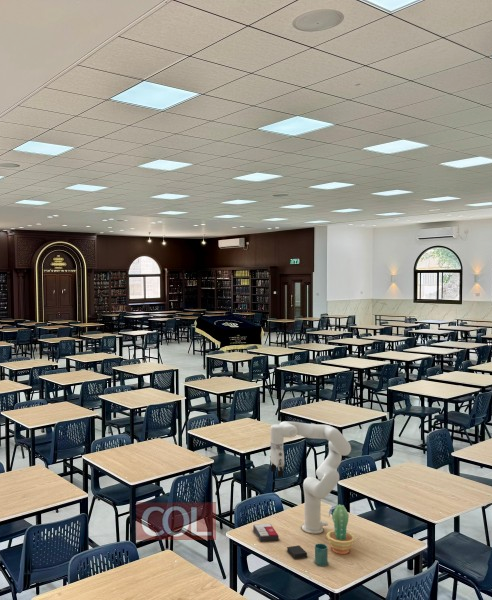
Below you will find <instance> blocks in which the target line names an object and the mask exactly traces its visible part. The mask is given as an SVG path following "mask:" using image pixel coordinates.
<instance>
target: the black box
mask: <svg viewBox="0 0 492 600" xmlns="http://www.w3.org/2000/svg"><path fill="white" fill-rule="evenodd" d="M286 552H287V553H288V554H289V555H290V556H291V557H292V559H294V560H299V559H305V558H308V551H306V550H305V549H304V548H303V547H302V546H301V545H292V546H291V545H290V546H287V548H286Z"/></svg>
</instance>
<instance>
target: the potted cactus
mask: <svg viewBox="0 0 492 600" xmlns="http://www.w3.org/2000/svg"><path fill="white" fill-rule="evenodd" d="M347 510H348V509H346V507H345V505H344V504H340V503H339V504H336V505H332V506H331V507H330V508H329V510H328V516H329V517H331V519H332V522H333V530H330V531H328V532H327V533H326V538H327V540H328V542H329V544H330V546H331V547H332V549H331V550H332V551H333V552H334V553H336V554H341V555H346V554H349V552H350V549H351V547H352V545H353V544H354V542H355V539H356V536H355V535H354V534H352V533H351V532H349V531H347V527H348V523H349V517H350V516H349V513H348V511H347Z"/></svg>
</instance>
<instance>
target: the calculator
mask: <svg viewBox="0 0 492 600" xmlns="http://www.w3.org/2000/svg"><path fill="white" fill-rule="evenodd" d="M252 526H253V529H252V531H253V533H254V534H255V535H256V537H257V538H258V540H259V542H261V543H263V542H264V543H265V542H278V541H279V537H280V535H279V534H278V532H277V531H276V530H275V528H274V526H273V525H272V523H258V524H253V525H252Z"/></svg>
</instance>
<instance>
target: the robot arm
mask: <svg viewBox="0 0 492 600" xmlns="http://www.w3.org/2000/svg"><path fill="white" fill-rule="evenodd" d="M296 436H301V437H304V438H306V439H319V440H327V441H328V444H327V445H328V453H327V456H326V458H325V459H324V460H323V461H322V462H321V463H320V465H319V466H318V467H317V469H316V471H315V475H316V477H317V478H316V477H314V476H307V477H306V478H305V479H303V483H302V487H303V488H302V489H303V495H304V524H302V525H301V530H302V531H303V532H305V533H308V534H314V535H315V534H316V535H317V534H318V535H319V534H321V533H323V532H324V527H326V526H327V527H328V526H329V522H328V521H325V522H324V521H323V520H322V521H321V517H322V516H321V508H322V507H321V506H322V503H321V501H322V500H323V499H325V498H326V497H327V496H329V494H330V493H331V492H332V491H333V489H335V487H337V485H338V483H339V481H340V474H339V471H338V468H339V466H340V465H341V462H342V456H343V457H344V456H348V455H350V453H351V451H352V446H351V444H350V442H349V441H348V440H347V439H346V437H345V436H344V435H343V434H342V433H341V431H340V430H339V429H338V428H336V427H333V426H332V425H329V424H319V423H317V424H316V423H306V422H299V421H290V420H289V421H288V420H287V421H286V420H284V421H281V422H280V423H279V424H277V423H273V424H271V426H270V455H269V458H270V459H269V462H270V472H271V473H273V472H277V477H278V478H283V477H284V468H285V452H284V438H289V439H290V438H291V439H293V438H295V437H296Z"/></svg>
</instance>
